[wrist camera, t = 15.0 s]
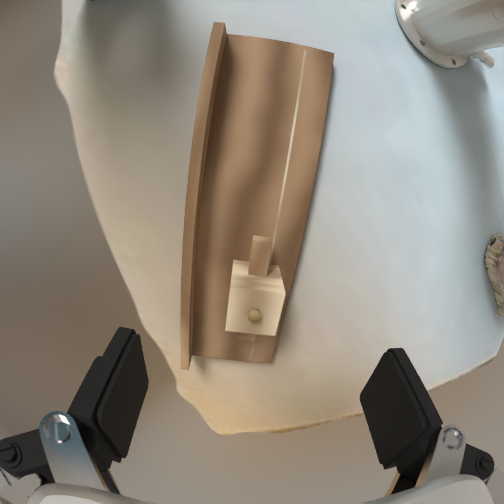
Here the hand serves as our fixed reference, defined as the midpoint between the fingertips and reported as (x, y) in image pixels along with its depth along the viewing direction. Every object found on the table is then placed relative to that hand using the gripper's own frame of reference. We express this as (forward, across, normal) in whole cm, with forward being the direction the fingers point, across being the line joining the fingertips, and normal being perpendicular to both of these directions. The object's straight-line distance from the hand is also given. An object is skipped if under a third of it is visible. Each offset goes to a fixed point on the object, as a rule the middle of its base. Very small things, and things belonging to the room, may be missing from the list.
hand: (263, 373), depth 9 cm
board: (+22, +1, +1) cm, 22 cm away
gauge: (+20, -1, +8) cm, 22 cm away
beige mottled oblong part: (+23, -48, +5) cm, 53 cm away
